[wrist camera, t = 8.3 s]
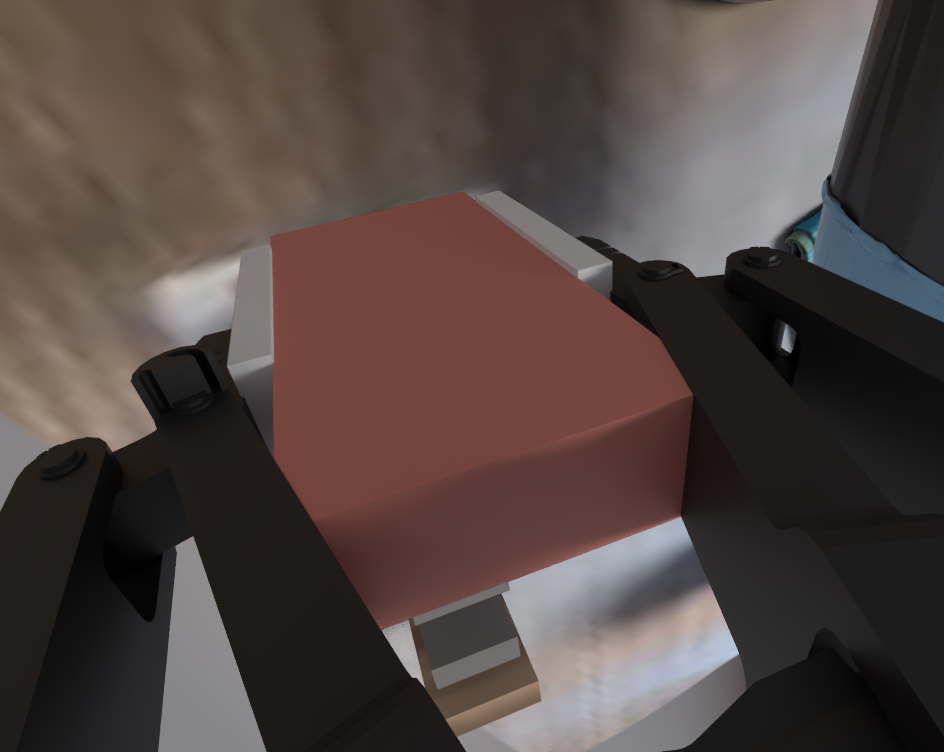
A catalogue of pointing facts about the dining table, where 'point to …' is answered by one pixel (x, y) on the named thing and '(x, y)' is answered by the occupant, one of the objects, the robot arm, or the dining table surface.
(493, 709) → the end stop
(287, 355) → the red domino
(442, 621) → the domino
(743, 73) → the dining table surface
